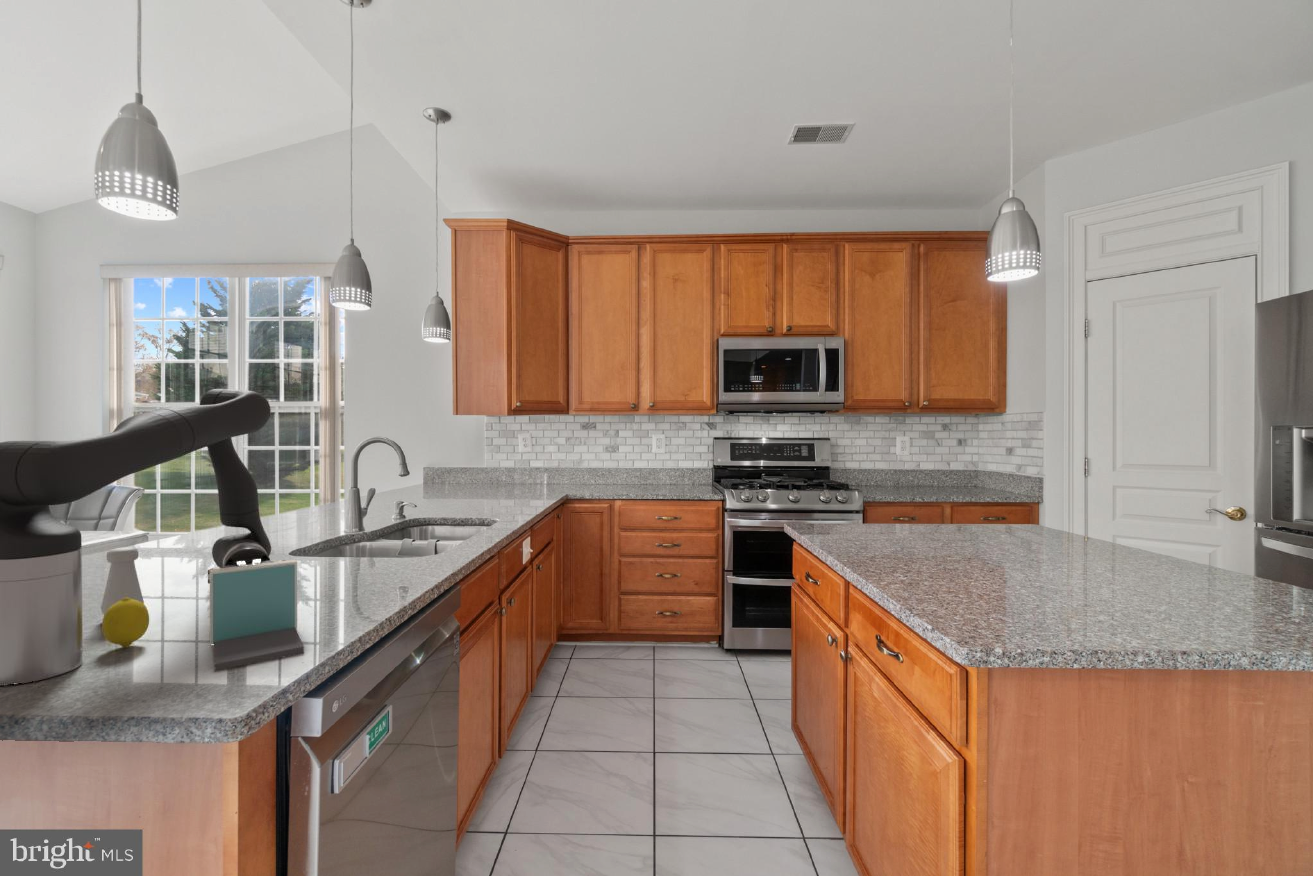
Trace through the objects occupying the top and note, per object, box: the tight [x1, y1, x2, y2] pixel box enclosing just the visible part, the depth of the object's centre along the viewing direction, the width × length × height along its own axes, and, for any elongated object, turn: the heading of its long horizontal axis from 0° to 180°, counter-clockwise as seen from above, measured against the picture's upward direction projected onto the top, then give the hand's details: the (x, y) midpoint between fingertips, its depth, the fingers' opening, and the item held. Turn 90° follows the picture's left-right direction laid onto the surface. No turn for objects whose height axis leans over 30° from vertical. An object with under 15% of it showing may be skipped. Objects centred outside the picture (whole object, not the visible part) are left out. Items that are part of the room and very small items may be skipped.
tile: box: [209, 559, 298, 646], centre depth 96 cm, size 12×2×12 cm, turn 129°
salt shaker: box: [100, 546, 145, 616], centre depth 104 cm, size 6×6×13 cm
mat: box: [213, 627, 305, 672], centre depth 90 cm, size 11×11×1 cm
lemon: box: [101, 597, 150, 648], centre depth 91 cm, size 6×6×8 cm
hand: (252, 581), depth 101 cm, fingers closed
